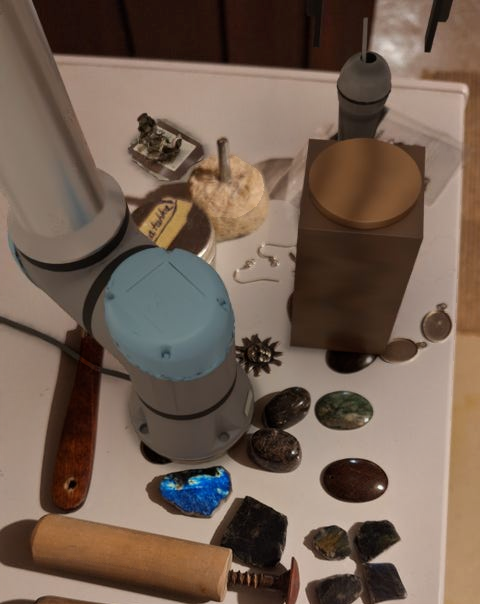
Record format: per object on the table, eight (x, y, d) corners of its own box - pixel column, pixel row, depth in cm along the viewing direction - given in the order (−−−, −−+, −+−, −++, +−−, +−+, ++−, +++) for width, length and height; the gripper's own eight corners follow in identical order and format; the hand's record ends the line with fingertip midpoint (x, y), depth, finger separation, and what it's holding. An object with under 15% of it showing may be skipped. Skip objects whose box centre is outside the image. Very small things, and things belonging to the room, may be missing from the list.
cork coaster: (303, 224, 62) (304, 217, 61) (313, 142, 66) (313, 134, 65) (418, 233, 61) (420, 226, 60) (420, 149, 65) (422, 141, 64)
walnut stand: (289, 346, 81) (297, 228, 61) (298, 270, 86) (308, 138, 66) (383, 355, 80) (423, 238, 60) (387, 278, 85) (425, 146, 65)
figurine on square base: (202, 178, 92) (129, 153, 89) (190, 202, 98) (121, 179, 95) (213, 111, 95) (143, 84, 92) (201, 138, 101) (134, 114, 98)
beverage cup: (360, 180, 92) (383, 50, 74) (319, 159, 94) (331, 27, 76) (387, 150, 95) (416, 16, 76) (346, 130, 97) (364, -5, 78)
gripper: (541, -194, 59) (474, 27, 79) (277, -198, 62) (275, 17, 81) (545, -150, 57) (475, 68, 76) (268, -155, 59) (268, 57, 78)
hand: (371, 42), depth 79 cm, fingers open, 13 cm apart
